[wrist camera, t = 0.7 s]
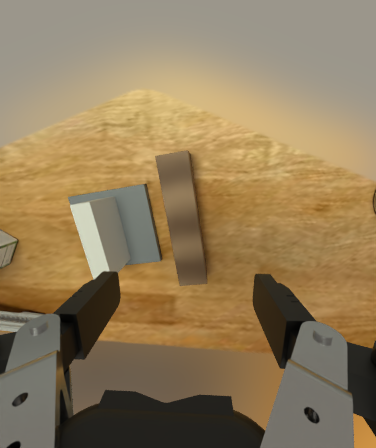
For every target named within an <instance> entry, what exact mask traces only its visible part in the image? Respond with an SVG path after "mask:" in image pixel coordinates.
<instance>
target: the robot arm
mask: <svg viewBox="0 0 376 448" xmlns="http://www.w3.org/2000/svg"><path fill="white" fill-rule="evenodd" d="M374 209H375V212H376V192H375V197H374ZM119 303H120V286H119V277H118V273H117V272H116V271H103V272H102V273H101V274H100V275H98V276H97V277H96V278H95V279H94V280H91V281H90V282H88V283H86V284H84V285H83V286H82V287H81V288H80V289H79V290H78V292H76V293H74V294H73V295H72V297H70V298H69V299H68V300H67V301H66V302H65V303H64V304H63V305H62V306H61V307H59V308H58V309H57V310H56V311H55V312H54V313H53V314H46V315H42V316H39V317H36V318H34V319H32V320H30V321H29V322H27V323H26V324H24V325H23V326H22V327H21V328H20V329H19V330H18V331H17V332H13V333H8V334H3V335H0V448H354V432H353V413H354V414H357V415H359V416H362V417H363V418H364V419H365V421H366V422H367V424H368V425H369V427H370V428H371V430H372V431H373V433H374V434H375V436H376V341H375V343H374V346H373V349H371V348H368V347H364V346H360V345H356V344H352V343H349V342H346V340H345V339H344V337H343V336H342V335H341V334H340V333H339V332H337V331H336V330H335V329H333V328H331V327H330V326H328V325H325V324H323V323H320V322H317V321H316V320H315V319H314V318H313V317H312V315H311V314H310V313H309V312H308V311H307V309H306V308H305V307H304V306H303V305H302V303H300V301H299V300H298V299H297V298H296V297H295V295H294V294H293V293H292V292H291V290H290V289H289V288H287V287H286V286H284V285H283V284H281V283H277V282H276V281H275V280H274V278H273V277H272V276H271V275H270V274H255V278H254V289H253V306H254V310H255V312H256V315H257V317H258V319H259V321H260V324H261V326H262V328H263V331H264V333H265V335H266V338H267V340H268V342H269V344H270V347H271V349H272V351H273V354H274V356H275V358H276V360H277V363H278V365H279V367H280V368H282V369H285V371H284V374H283V377H282V381H281V384H280V387H279V390H278V393H277V396H276V399H275V402H274V406H273V409H272V412H271V415H270V418H269V421H268V424H267V427H266V431H265V430H264V429H263V428H261V427H260V426H259V425H258V424H257V423H256V422H254V421H253V420H251V419H250V418H248V417H247V416H245V415H243V414H242V413H240V412H237V411H235V410H233V406H232V400H231V396H212V395H197V396H193V397H189V398H185V399H181V400H177V401H173V402H170V403H163V402H160V401H158V400H155V399H153V398H150V397H148V396H145V395H143V394H140V393H137V392H132V391H112V390H105V392H104V394H103V396H102V399H101V401H100V403H99V404H95V405H93V406H90V407H88V408H86V409H84V410H82V411H80V412H78V413H77V414H75V415H73V399H72V382H71V369H70V364H71V363H72V361H73V360H74V359H85V358H86V357H87V355H88V354H89V352H90V350H91V349H92V347H93V346H94V344H95V342H96V341H97V339H98V338H99V336H100V334H101V333H102V331H103V330H104V328H105V326H106V325H107V323H108V322H109V320H110V318H111V317H112V315H113V314H114V312H115V310H116V309H117V307H118V305H119Z"/></svg>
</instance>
